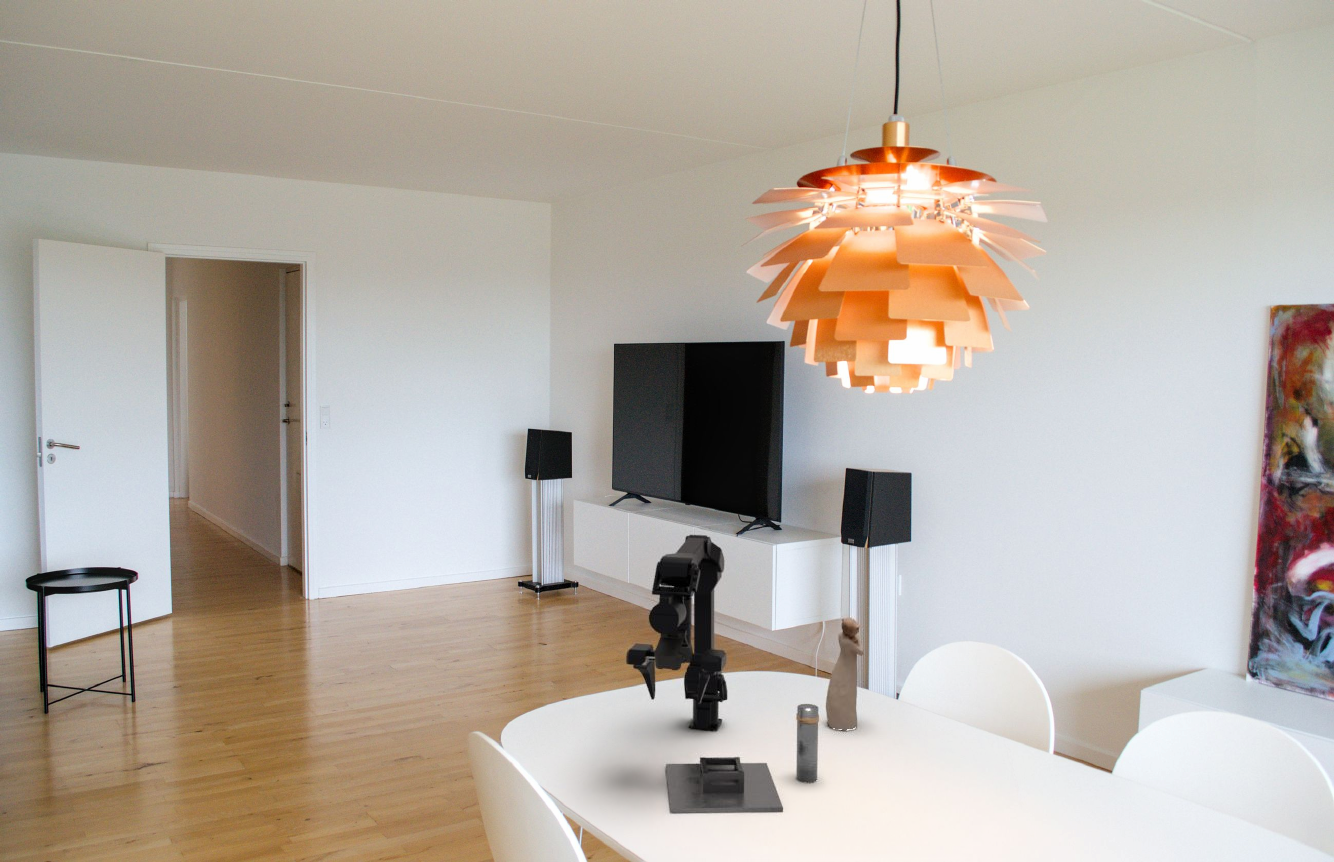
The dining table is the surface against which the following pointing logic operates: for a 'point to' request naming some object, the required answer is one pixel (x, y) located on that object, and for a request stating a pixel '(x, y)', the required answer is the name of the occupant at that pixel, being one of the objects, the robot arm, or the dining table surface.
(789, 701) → the dining table surface
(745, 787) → the collar stand
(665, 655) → the robot arm
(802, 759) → the grey metal cylinder
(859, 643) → the figurine
